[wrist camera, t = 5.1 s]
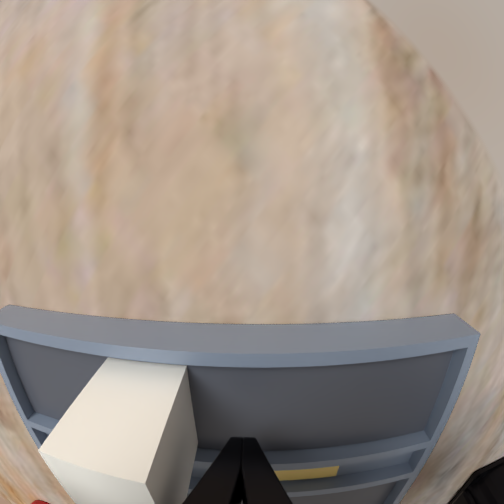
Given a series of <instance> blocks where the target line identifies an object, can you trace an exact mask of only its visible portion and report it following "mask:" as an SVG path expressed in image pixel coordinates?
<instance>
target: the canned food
mask: <svg viewBox="0 0 504 504" xmlns="http://www.w3.org/2000/svg"><path fill="white" fill-rule="evenodd" d="M31 504H49V503H47V502H44V501H41V500H35V501H34V502H33V503H31Z"/></svg>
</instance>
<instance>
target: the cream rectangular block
mask: <svg viewBox="0 0 504 504" xmlns="http://www.w3.org/2000/svg"><path fill="white" fill-rule="evenodd" d="M197 446H198V438H197V432H196V426H195V420H194V414H193V407H192V400H191V393H190V386H189V379H188V371H187V366H185V365H172V364H160V363H150V362H140V361H132V360H124V359H116V358H109V357H108V358H107V359H106V360H105V362H104V363H103V364H102V365H101V367H100V368H99V369H98V371H97V372H96V373H95V374H94V376H93V377H92V378H91V380H90V381H89V382H88V383H87V385H86V386H85V387H84V389H83V390H82V391H81V393H80V394H79V395H78V396H77V398H76V399H75V400H74V402H73V403H72V404H71V406H70V407H69V408H68V410H67V411H66V412H65V414H64V415H63V417H62V418H61V419H60V421H59V422H58V423H57V425H56V426H55V427H54V429H53V430H52V432H51V433H50V434H49V436H48V437H47V439H46V440H45V441H44V443H43V444H42V446H41V447H40V448H39V450H38V451H39V453H40V454H41V456H42V458H43V459H44V461H45V462H46V464H47V465H48V467H49V468H50V470H51V471H52V473H53V474H54V476H55V477H56V478H57V480H58V481H59V483H60V484H61V485H62V487H63V488H64V489H65V491H66V492H67V493H68V495H69V496H70V497H71V498H72V500H73V501H74V502H75V503H76V504H182V503H183V502H184V500H185V499H186V498H187V493H188V489H189V484H190V479H191V474H192V469H193V465H194V460H195V455H196V450H197Z"/></svg>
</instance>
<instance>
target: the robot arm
mask: <svg viewBox="0 0 504 504" xmlns="http://www.w3.org/2000/svg"><path fill="white" fill-rule="evenodd" d="M242 502H243V504H293V503H292V501H291V500H290V498H289V496H288V495H287V493H286V491H285V489H284V488H283V486H282V484H281V482H280V481H279V479H278V477H277V475H276V474H275V472H274V470H273V468H272V466H271V465H270V463H269V461H268V459H267V457H266V455H265V454H264V452H263V450H262V448H261V446H260V444H259V442H258V440H257V439H256V438H255V437H244V438H243V437H230V438H229V440H228V441H227V443H226V444H225V446H224V447H223V448H222V450H221V451H220V453H219V454H218V456H217V457H216V458H215V460H214V461H213V463H212V464H211V465H210V467H209V468H208V470H207V471H206V472H205V474H204V475H203V477H202V478H201V479H200V481H199V482H198V483H197V485H196V486H195V487H194V489H193V490H192V491H191V493H190V494H189V495H188V497H187V498H186V499H185V500H184V502H183V503H182V504H241V503H242ZM450 504H504V458H502V459H501V460H499V461H497V462H495V463H493V464H491V465H489V466H487V467H485V468H483V469H481V470H479V471H477V472H476V473H474V474H473V475H472V476H471V478H470V479H469V480H468V482H467V483H466V484H465V486H464V487H463V488H462V489H461V491H460V492H459V493H458V494H457V495H456V497H455V498H454V499H453V500H452V501H451V503H450Z"/></svg>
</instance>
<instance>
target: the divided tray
mask: <svg viewBox="0 0 504 504" xmlns="http://www.w3.org/2000/svg"><path fill="white" fill-rule="evenodd" d="M479 337H480V333H479V332H478V331H476V330H475V329H474V328H473V327H471V326H470V325H469V324H467V323H466V322H465V321H463V320H462V319H461V318H459V317H458V316H457V315H456V314H446V315H437V316H427V317H417V318H406V319H394V320H380V321H364V322H345V323H320V324H207V323H182V322H163V321H147V320H133V319H121V318H109V317H99V316H89V315H80V314H71V313H63V312H55V311H47V310H40V309H33V308H26V307H20V306H14V305H7V306H5V307H4V308H2V309H0V373H1V375H2V377H3V380H4V382H5V385H6V387H7V389H8V391H9V394H10V396H11V398H12V400H13V402H14V404H15V406H16V408H17V410H18V412H19V414H20V416H21V418H22V420H23V422H24V424H25V426H26V428H27V430H28V431H29V433H30V435H31V437H32V439H33V440H34V442H35V444H36V445H37V447H38V449H39V448H40V447H41V446H42V444H43V443H44V441H45V440H46V439H47V437H48V436H49V434H50V433H51V432H52V430H53V429H54V427H55V426H56V425H57V423H58V422H59V421H60V419H61V418H62V417H63V415H64V414H65V412H66V411H67V410H68V408H69V407H70V406H71V404H72V403H73V402H74V400H75V399H76V398H77V396H78V395H79V394H80V393H81V391H82V390H83V389H84V387H85V386H86V385H87V383H88V382H89V381H90V380H91V378H92V377H93V376H94V374H95V373H96V372H97V371H98V369H99V368H100V367H101V365H102V364H103V363H104V362H105V360H106V359H107V358H108V357H109V358H116V359H124V360H132V361H140V362H150V363H160V364H172V365H185V366H187V371H188V379H189V386H190V393H191V400H192V407H193V414H194V420H195V426H196V432H197V438H198V446H197V450H196V455H195V460H194V465H193V469H192V474H191V479H190V484H189V489H188V493H187V497H188V495H189V494H190V493H191V491H192V490H193V489H194V487H195V486H196V485H197V483H198V482H199V481H200V479H201V478H202V477H203V475H204V474H205V472H206V471H207V470H208V468H209V467H210V465H211V464H212V463H213V461H214V460H215V458H216V457H217V456H218V454H219V453H220V451H221V450H222V448H223V447H224V446H225V444H226V443H227V441H228V440H229V438H230V437H243V438H244V437H255V438H256V439H257V440H258V442H259V444H260V446H261V448H262V450H263V452H264V454H265V455H266V457H267V459H268V461H269V463H270V465H271V466H272V468H273V470H274V472H275V474H276V475H277V477H278V479H279V481H280V482H281V484H282V486H283V488H284V489H285V491H286V493H287V495H288V496H289V498H290V500H291V501H292V503H293V504H399V503H400V501H401V500H402V499H403V497H404V496H405V494H406V493H407V491H408V490H409V488H410V487H411V485H412V484H413V482H414V481H415V479H416V477H417V476H418V474H419V473H420V471H421V469H422V468H423V466H424V464H425V463H426V461H427V459H428V457H429V456H430V454H431V452H432V450H433V448H434V447H435V445H436V443H437V441H438V439H439V437H440V435H441V433H442V431H443V429H444V427H445V425H446V423H447V421H448V419H449V417H450V414H451V412H452V410H453V408H454V406H455V403H456V401H457V399H458V396H459V394H460V391H461V389H462V386H463V384H464V381H465V379H466V376H467V373H468V370H469V368H470V365H471V362H472V359H473V356H474V353H475V350H476V347H477V344H478V340H479ZM241 504H243V502H242V503H241Z"/></svg>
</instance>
